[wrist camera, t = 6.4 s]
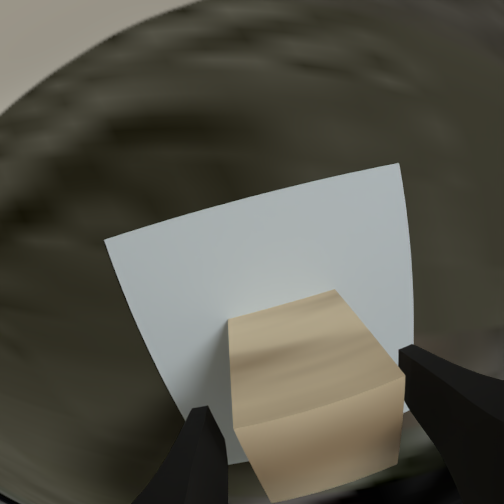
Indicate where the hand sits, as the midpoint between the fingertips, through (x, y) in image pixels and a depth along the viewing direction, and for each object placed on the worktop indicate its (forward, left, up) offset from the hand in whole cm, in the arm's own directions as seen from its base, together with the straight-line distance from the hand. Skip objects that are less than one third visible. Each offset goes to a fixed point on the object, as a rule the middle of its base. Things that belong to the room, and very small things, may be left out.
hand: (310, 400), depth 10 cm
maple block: (0, 0, -3) cm, 3 cm away
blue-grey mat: (0, 0, -3) cm, 3 cm away
